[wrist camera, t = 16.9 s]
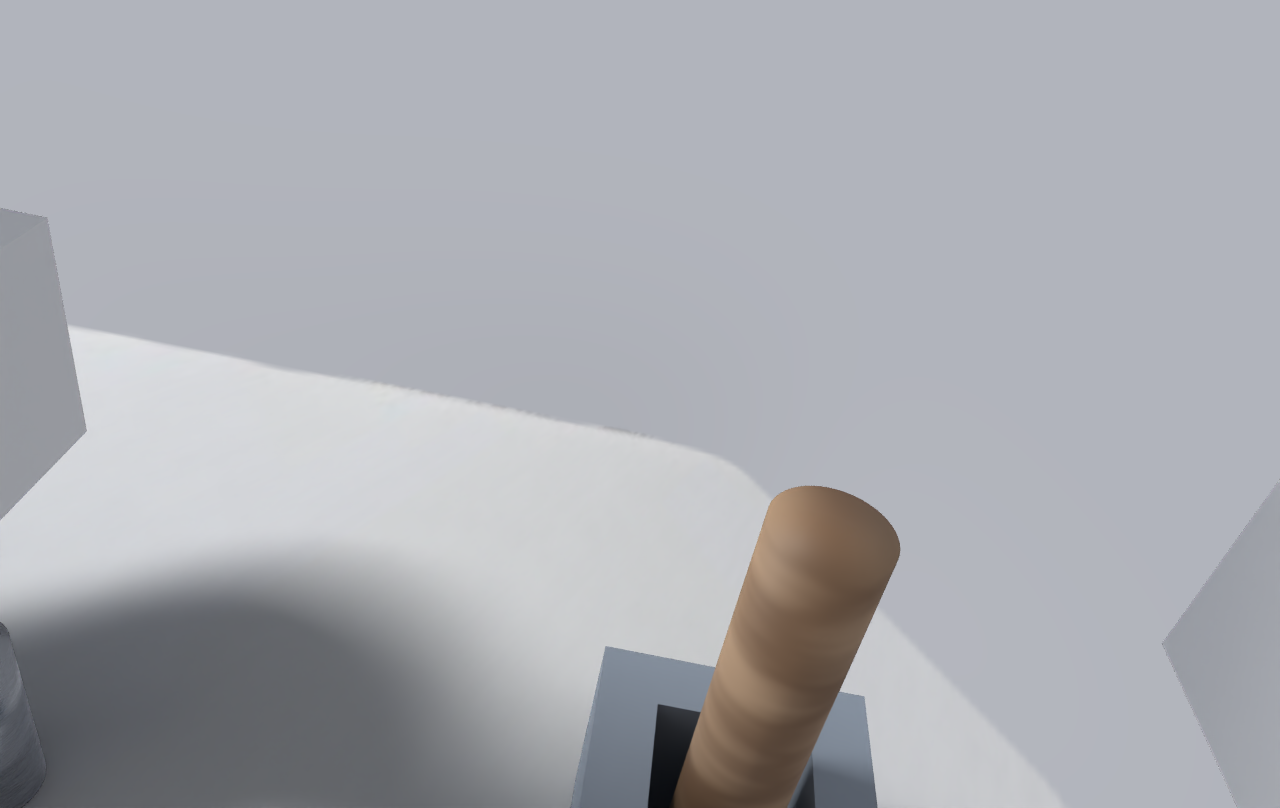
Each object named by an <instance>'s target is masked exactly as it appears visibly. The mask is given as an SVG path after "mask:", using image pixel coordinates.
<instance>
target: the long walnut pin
mask: <svg viewBox="0 0 1280 808" xmlns="http://www.w3.org/2000/svg"><path fill="white" fill-rule="evenodd" d="M899 555H900V543H899V540H898V536H897V534H896V532H895V530H894V528H893V527H892V525H891V524H890V523H889V522H888V520H887V519H886V518H885V517H884V516H883V515H882V514H881V513H880V512H878V511H877V510H876V509H875V508H874V507H872V506H870V505H869V504H868V503H866V502H864V501H863V500H861V499H859V498H857V497H855V496H853V495H851V494H848V493H845V492H843V491H840V490H836V489H832V488H827V487H821V486H801V487H795V488H791V489H788V490H785V491H784V492H782V493H780V494H779V495H777V496H776V497H775V498H774V499H773V500H772V501H771V503H770V505H769V507H768V510H767V513H766V516H765V519H764V522H763V525H762V528H761V531H760V535H759V538H758V541H757V544H756V547H755V550H754V553H753V556H752V559H751V562H750V565H749V568H748V571H747V574H746V577H745V580H744V583H743V586H742V589H741V592H740V595H739V598H738V601H737V604H736V607H735V610H734V613H733V616H732V619H731V622H730V625H729V628H728V631H727V634H726V637H725V640H724V643H723V646H722V650H721V653H720V656H719V659H718V662H717V665H716V668H715V671H714V674H713V677H712V680H711V683H710V686H709V689H708V692H707V695H706V698H705V701H704V704H703V707H702V710H701V713H700V716H699V719H698V722H697V725H696V728H695V731H694V734H693V737H692V740H691V743H690V746H689V749H688V752H687V755H686V758H685V761H684V765H683V768H682V771H681V774H680V777H679V780H678V783H677V786H676V789H675V792H674V795H673V798H672V801H671V804H670V807H669V808H787V807H788V804H789V802H790V800H791V798H792V795H793V793H794V791H795V789H796V786H797V784H798V782H799V780H800V778H801V775H802V773H803V771H804V769H805V766H806V764H807V762H808V760H809V757H810V755H811V753H812V751H813V749H814V746H815V744H816V742H817V740H818V737H819V735H820V733H821V731H822V728H823V726H824V724H825V722H826V720H827V717H828V715H829V713H830V711H831V708H832V706H833V704H834V702H835V699H836V697H837V695H838V693H839V691H840V688H841V686H842V684H843V682H844V679H845V677H846V675H847V673H848V670H849V668H850V666H851V664H852V662H853V659H854V657H855V655H856V653H857V650H858V648H859V646H860V644H861V641H862V639H863V637H864V635H865V633H866V630H867V628H868V626H869V624H870V621H871V619H872V617H873V615H874V612H875V610H876V608H877V606H878V604H879V601H880V599H881V597H882V595H883V592H884V590H885V588H886V585H887V583H888V581H889V579H890V577H891V574H892V572H893V570H894V568H895V566H896V563H897V561H898V558H899Z"/></svg>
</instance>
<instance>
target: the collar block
mask: <svg viewBox="0 0 1280 808" xmlns="http://www.w3.org/2000/svg"><path fill="white" fill-rule="evenodd" d="M714 671H715V667H710V666H705V665H700V664H695V663H689V662H684V661H679V660H674V659H669V658H664V657H659V656H654V655H648V654H643V653H638V652H633V651H628V650H623V649H618V648H613V647H607V646H606V647H605V652H604V656H603V660H602V665H601V669H600V674H599V678H598V682H597V687H596V691H595V696H594V700H593V704H592V709H591V713H590V718H589V722H588V726H587V731H586V735H585V740H584V744H583V748H582V753H581V757H580V762H579V766H578V770H577V775H576V781H575V786H574V792H573V798H572V804H571V808H669V807H670V804H671V801H672V798H673V795H674V792H675V789H676V786H677V783H678V780H679V777H680V774H681V771H682V768H683V765H684V761H685V758H686V755H687V752H688V749H689V746H690V743H691V740H692V737H693V734H694V731H695V728H696V725H697V722H698V719H699V716H700V713H701V710H702V707H703V704H704V701H705V698H706V695H707V692H708V689H709V686H710V683H711V680H712V677H713V674H714ZM787 808H877V800H876V791H875V783H874V774H873V766H872V758H871V749H870V741H869V732H868V724H867V716H866V707H865V699H864V696H859V695H854V694H848V693H843V692H839V693H838V695H837V697H836V699H835V702H834V704H833V706H832V708H831V711H830V713H829V715H828V717H827V720H826V722H825V724H824V726H823V728H822V731H821V733H820V735H819V737H818V740H817V742H816V744H815V746H814V749H813V751H812V753H811V755H810V757H809V760H808V762H807V764H806V766H805V769H804V771H803V773H802V775H801V778H800V780H799V782H798V784H797V786H796V789H795V791H794V793H793V795H792V798H791V800H790V802H789V804H788V807H787Z"/></svg>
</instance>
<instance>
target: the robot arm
mask: <svg viewBox="0 0 1280 808" xmlns="http://www.w3.org/2000/svg"><path fill="white" fill-rule="evenodd" d="M86 431H87V430H86V424H85V419H84V413H83V408H82V403H81V397H80V392H79V386H78V381H77V376H76V370H75V365H74V359H73V354H72V349H71V343H70V338H69V332H68V327H67V322H66V317H65V311H64V305H63V300H62V295H61V289H60V284H59V279H58V273H57V268H56V263H55V258H54V252H53V246H52V241H51V235H50V230H49V224H48V219H47V217H42V216H36V215H32V214H27V213H22V212H17V211H12V210H7V209H2V208H0V520H1V519H2V518H3V517H4V516H5V515H6V514H7V513H8V512H9V511H10V510H11V509H12V508H13V507H14V505H15V504H16V503H17V502H18V501H19V500H20V499H21V498H22V497H23V496H24V495H25V494H26V493H27V492H28V491H29V490H30V489H31V488H32V487H33V486H34V485H35V484H36V483H37V482H38V481H39V480H40V479H41V478H42V477H43V476H44V475H45V474H46V472H47V471H48V470H49V469H50V468H51V467H52V466H53V465H54V464H55V463H56V462H57V461H58V460H59V459H60V458H61V457H62V456H63V455H64V454H65V453H66V452H67V451H68V450H69V449H70V448H71V447H72V446H73V445H74V444H75V443H76V442H77V441H78V439H79V438H80V437H81V436H82V435H83V434H84V433H85V432H86ZM1162 645H1163V647H1164V649H1165V651H1166V654H1167V656H1168V658H1169V660H1170V662H1171V665H1172V667H1173V669H1174V671H1175V673H1176V675H1177V678H1178V680H1179V682H1180V684H1181V686H1182V688H1183V691H1184V692H1185V695H1186V697H1187V699H1188V702H1189V704H1190V706H1191V708H1192V710H1193V712H1194V715H1195V717H1196V719H1197V721H1198V723H1199V726H1200V727H1201V730H1202V732H1203V734H1204V736H1205V738H1206V741H1207V743H1208V745H1209V747H1210V749H1211V752H1212V754H1213V756H1214V758H1215V760H1216V762H1217V765H1218V767H1219V769H1220V771H1221V773H1222V776H1223V778H1224V780H1225V782H1226V784H1227V786H1228V789H1229V791H1230V793H1231V795H1232V797H1233V799H1234V802H1235V804H1236V806H1237V808H1280V479H1279V481H1278V482H1277V484H1276V485H1275V487H1274V488H1273V489H1272V491H1271V492H1270V494H1269V495H1268V496H1267V498H1266V499H1265V500H1264V502H1263V503H1262V505H1261V506H1260V507H1259V509H1258V510H1257V511H1256V513H1255V514H1254V516H1253V517H1252V519H1251V520H1250V521H1249V523H1248V524H1247V525H1246V527H1245V528H1244V530H1243V531H1242V532H1241V534H1240V535H1239V537H1238V538H1237V540H1236V541H1235V542H1234V544H1233V545H1232V547H1231V548H1230V549H1229V551H1228V552H1227V553H1226V555H1225V556H1224V558H1223V559H1222V560H1221V562H1220V563H1219V565H1218V566H1217V567H1216V569H1215V570H1214V572H1213V573H1212V574H1211V576H1210V577H1209V579H1208V580H1207V581H1206V583H1205V584H1204V586H1203V587H1202V588H1201V590H1200V591H1199V593H1198V594H1197V595H1196V597H1195V598H1194V600H1193V601H1192V602H1191V604H1190V605H1189V607H1188V608H1187V609H1186V611H1185V612H1184V613H1183V615H1182V616H1181V618H1180V619H1179V620H1178V622H1177V623H1176V625H1175V626H1174V628H1173V629H1172V630H1171V632H1170V633H1169V634H1168V636H1167V637H1166V639H1165V640H1164V641H1163V643H1162Z"/></svg>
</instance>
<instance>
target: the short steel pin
mask: <svg viewBox="0 0 1280 808" xmlns="http://www.w3.org/2000/svg"><path fill="white" fill-rule="evenodd" d="M45 774H46V762H45V758H44V755H43V751H42V748H41V744H40V740H39V737H38V733H37V730H36V726H35V723H34V719H33V716H32V712H31V709H30V705H29V702H28V698H27V695H26V691H25V688H24V684H23V681H22V677H21V674H20V670H19V667H18V663H17V660H16V656H15V653H14V649H13V646H12V642H11V639H10V635H9V632H8V630H7V628H6V627H5V626H4V624H2V623H1V622H0V808H22V807H23V806H24V805H25V804H26V803H28V802H29V801H30V800H31V799H32V798H33V797H34V795H35V794H36V793H37V791H38V790H39V788H40V787H41V785H42V783H43V781H44V778H45Z"/></svg>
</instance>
